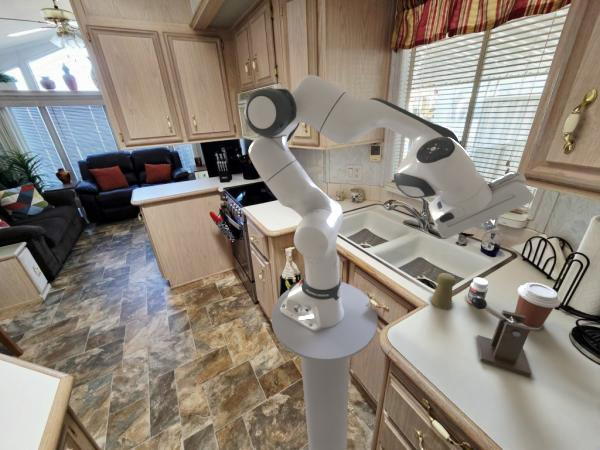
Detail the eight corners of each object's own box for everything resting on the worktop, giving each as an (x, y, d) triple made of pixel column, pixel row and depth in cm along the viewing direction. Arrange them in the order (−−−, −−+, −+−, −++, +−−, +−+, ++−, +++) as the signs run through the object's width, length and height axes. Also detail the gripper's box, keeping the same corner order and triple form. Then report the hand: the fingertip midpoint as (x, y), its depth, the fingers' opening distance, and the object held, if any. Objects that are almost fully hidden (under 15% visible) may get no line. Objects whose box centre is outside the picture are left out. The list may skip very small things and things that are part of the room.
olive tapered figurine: (454, 301, 84) (460, 275, 80) (447, 311, 80) (454, 284, 76) (435, 293, 88) (440, 268, 84) (428, 302, 84) (433, 276, 80)
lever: (468, 306, 63) (478, 299, 61) (467, 298, 65) (477, 291, 63) (515, 336, 60) (526, 330, 58) (512, 327, 63) (523, 320, 61)
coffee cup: (547, 338, 69) (563, 305, 64) (506, 322, 75) (518, 291, 70) (548, 319, 75) (563, 288, 70) (510, 306, 81) (521, 275, 76)
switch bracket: (480, 361, 64) (493, 325, 59) (476, 338, 71) (488, 303, 66) (530, 376, 60) (548, 339, 55) (521, 350, 66) (537, 314, 61)
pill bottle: (464, 301, 84) (470, 281, 81) (468, 294, 87) (474, 274, 84) (481, 308, 81) (487, 287, 77) (484, 300, 84) (491, 280, 80)
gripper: (512, 160, 54) (533, 198, 59) (422, 208, 65) (447, 236, 71) (528, 176, 49) (549, 216, 55) (428, 224, 61) (454, 253, 66)
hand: (491, 227), depth 63 cm, fingers closed
